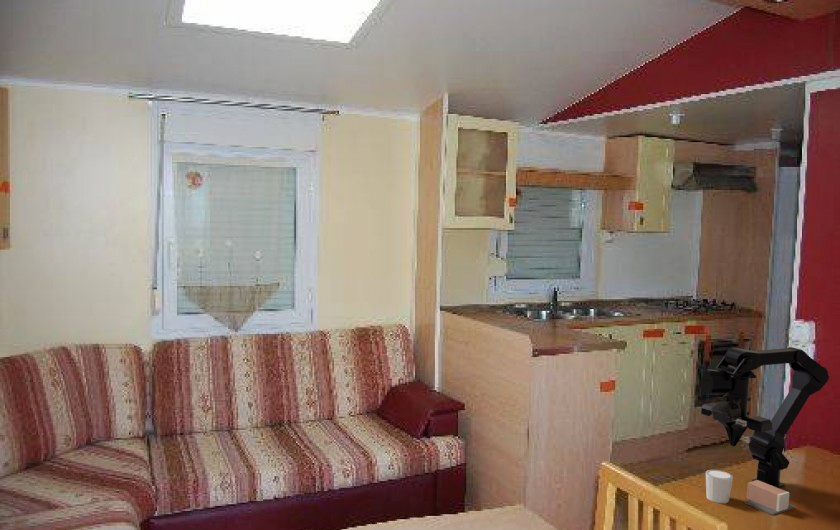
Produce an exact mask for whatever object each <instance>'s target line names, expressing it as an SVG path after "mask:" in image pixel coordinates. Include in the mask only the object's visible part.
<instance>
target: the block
mask: <svg viewBox="0 0 840 530" xmlns="http://www.w3.org/2000/svg"><path fill="white" fill-rule="evenodd" d="M746 499H747V500H752V501H754V502H757V503H759V504H762V505H764V506H766V507H769V508H771V509H773V510H776V511H778V512H779V511H782V510H785V509H788V505H790V504H789V502H790V492H789V491H786V490H784V489H781V488H780V487H779V488H777V487H774V486H772V485H769V484H766V483H764V482H761V481H759V480H755V481H752V480H751V481H749V482H747V488H746Z"/></svg>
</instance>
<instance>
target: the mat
mask: <svg viewBox="0 0 840 530" xmlns="http://www.w3.org/2000/svg"><path fill="white" fill-rule="evenodd" d="M743 504H744V505H748V506H749V507H752V508H754V509H757V510H758V511H760V512H764V513H766V514H767V515H770V516H776V515H778V514H781V513H784V512H787V511H790V510H794V509H795V508H796V506H794V505H792V504H789V505H788V509H785V510H782V511H779V512H778V511H776V510H773V509H771V508H769V507H766V506H764V505H762V504H759V503H757V502H754V501H752V500H750V499H747V500H745V501H743Z"/></svg>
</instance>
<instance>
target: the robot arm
mask: <svg viewBox="0 0 840 530" xmlns="http://www.w3.org/2000/svg"><path fill="white" fill-rule="evenodd" d="M782 364H783V365H784V364H788V365H789V368H790V369H792V371H793V374H792V375H791V382H792V384H791V385H792V386H791V388H790V390H789V391H788V393H787V395H786V396H785V397H784V399H783V401H782V402H781V403H780V406H779V407H778V409H777V410H776V413H774V415H773V416H772V419H770V418H765V417H763V416H759V415H758V416H752V417H750V411H749V410H748V404H749V403H748V402H751V400H752V399H751V397H750V396H749V390H750V389H749V387H750V379H757V375H756V374H755V373H754V372H753V371H755V370H757V369H759V368H760V367H762V366H763V367H764V366H770V365H771V366H772V365H774V366H775V365H782ZM829 379H830V375H829V371H828V369H827V368H826V367H825V366H822V365H821V364H820V363H819V362H817V360H815V359H814V358H812V357H810V356H809V355H808V353H807V352H805V351H804V350H803V349H801V348H798V347H797V348H795V347H791V346H790V347H785V348H776V349H775V348H771V349H761V350H751V349H746V348H745V349H744V348H740V347H738V348H737V347H731V348H728V349H727V351H726V353H725V355H724V356H723V357H722V359H721V360H720V361H719V363H718V364H717V366H716V367H715V369H709V368H708V369H705V373H704V374H703V375H702V376H701V377H700V380H699V383H700V384H699V386H700V388H701V390H702V392H703V393H705V394H707V395H715V394H716V395H718V394H719V395H721V394H723V395H722V397H721V401H720V402H718V403H715V402H710V403H705V404H703V405H702V406H701V408H700V414H701V415H703V416H707V417H711V416H712V419H713V420H715V421H718V422H719V423H720V424H722V426H723V427H724V428H725V431H726V434H727V436H728V437H727V438H728V441H729V443H730V446H731V447H732V448H733V447H736V446H737V444H738V443H739V441H740V439H741V438H742V436H743V435H744V433H745V432H746V430H747V429H748V430H751V431H754V432H753V434H752V435H751V437H749V442H748V448H749V452H750V453H751V457H752V459H753V460H755V461H758V462H757V469H756V470H757V471H756V478H753V479H751V482H752V481H755V480H759V481H761V482H764V483H766V484H769V485H772V486H774V487H777V488H779V489H780V488H782V487H785V483H784V482H781V471H783V470H787V469H788V467H789V465H790V460H789V459H788V458H787V457H786V456H785V455H784V450H785V447H786V446H785V437H786V435H787V433H788V431H789V430H790V428H791V427H792V425H793V424H794V422H795V421H796V419H797V417H798V415H799V414H800V412H801V411H802V409H803V408H804V407H805V404H806V403H807V401H808V399H809V398H810V397H811V396H812V395H814V394H815V393H817V392H819V391H821V390H822V389H823V387H825V385H826V384H827V383H828V381H829Z"/></svg>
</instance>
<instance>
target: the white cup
mask: <svg viewBox="0 0 840 530" xmlns="http://www.w3.org/2000/svg"><path fill="white" fill-rule="evenodd" d="M733 479H734V477H733V475H732V474H731V473H729V472H726V471H724V470H719V469H708V470H706V471H705V490H706V492H705V493H706V498H707V500H708V501H711V502H714V503H718V504H727V503H729V502H730V497H731V490H732V486H733Z"/></svg>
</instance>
